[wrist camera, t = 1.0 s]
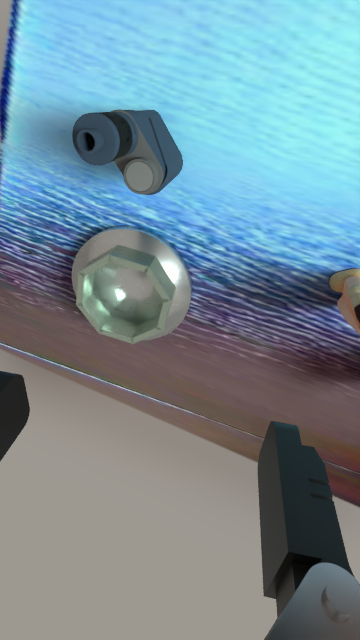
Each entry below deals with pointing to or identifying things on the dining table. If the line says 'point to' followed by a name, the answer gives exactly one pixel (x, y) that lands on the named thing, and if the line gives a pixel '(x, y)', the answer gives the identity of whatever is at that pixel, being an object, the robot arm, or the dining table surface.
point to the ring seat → (131, 284)
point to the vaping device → (130, 147)
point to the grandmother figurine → (348, 295)
